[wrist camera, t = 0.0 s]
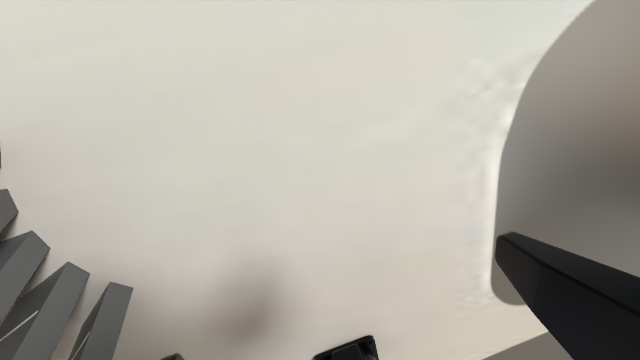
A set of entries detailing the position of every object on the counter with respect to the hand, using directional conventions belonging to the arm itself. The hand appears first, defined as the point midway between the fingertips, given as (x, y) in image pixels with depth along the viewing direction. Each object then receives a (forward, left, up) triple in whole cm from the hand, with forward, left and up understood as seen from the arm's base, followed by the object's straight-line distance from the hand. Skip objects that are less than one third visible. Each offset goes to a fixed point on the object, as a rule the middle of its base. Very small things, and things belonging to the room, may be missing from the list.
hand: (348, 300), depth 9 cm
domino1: (-10, +16, -15) cm, 24 cm away
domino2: (-7, +18, -15) cm, 24 cm away
